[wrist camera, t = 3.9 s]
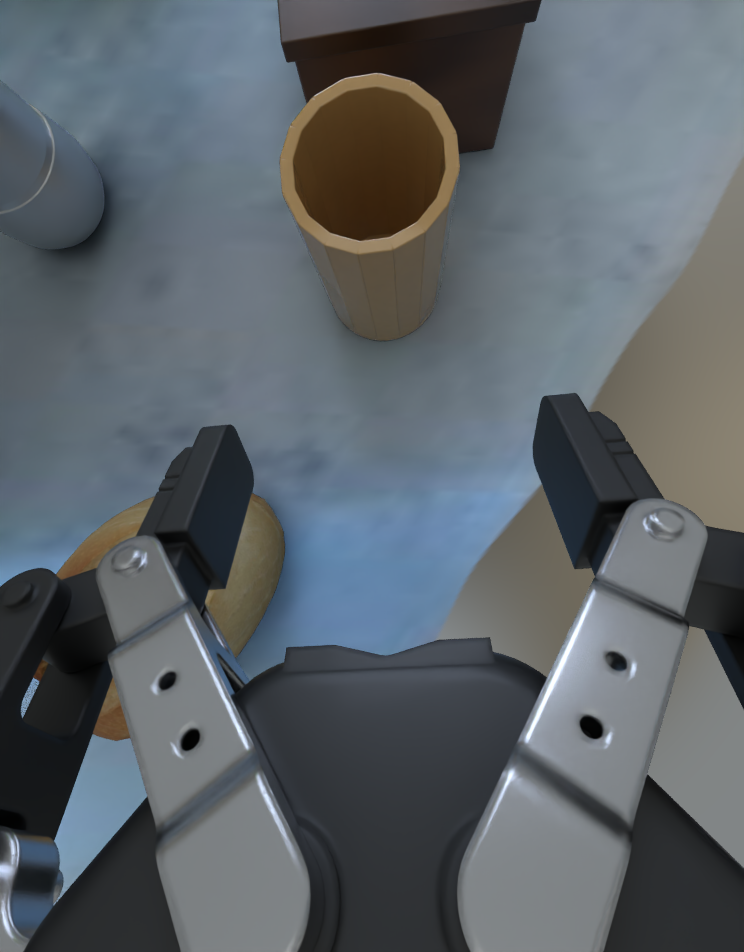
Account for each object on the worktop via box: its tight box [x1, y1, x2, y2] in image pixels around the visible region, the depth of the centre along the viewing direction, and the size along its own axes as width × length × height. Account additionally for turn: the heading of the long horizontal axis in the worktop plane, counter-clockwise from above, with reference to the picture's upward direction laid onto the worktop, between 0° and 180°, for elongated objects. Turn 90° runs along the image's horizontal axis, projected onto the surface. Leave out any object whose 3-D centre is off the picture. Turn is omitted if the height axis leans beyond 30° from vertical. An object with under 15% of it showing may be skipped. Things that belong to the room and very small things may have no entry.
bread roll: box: [33, 493, 285, 741], centre depth 22 cm, size 10×15×8 cm, turn 144°
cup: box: [280, 73, 460, 341], centre depth 21 cm, size 6×6×10 cm
